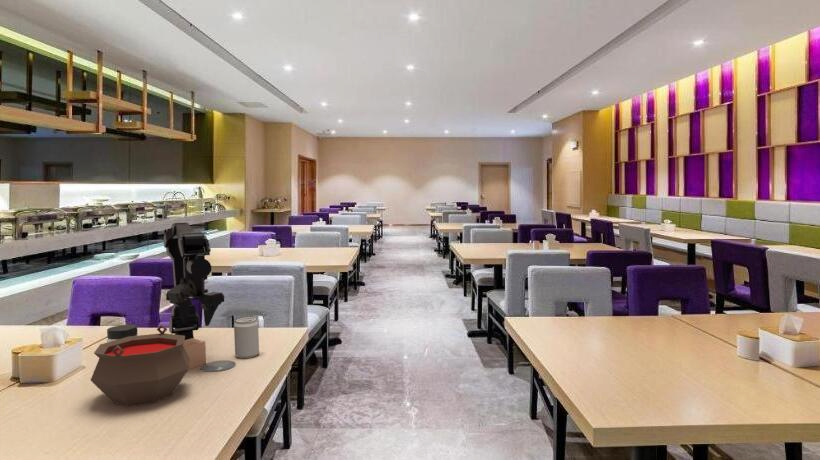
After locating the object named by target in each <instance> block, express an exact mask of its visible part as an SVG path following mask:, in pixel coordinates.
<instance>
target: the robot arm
mask: <svg viewBox="0 0 820 460" xmlns="http://www.w3.org/2000/svg"><path fill="white" fill-rule="evenodd" d="M163 247H164V249H166V251H165V252H166V254H167V256H168V257H169V258H170V260H172V261H171V262H172V271H173V272H172V273H173V285H174V287H172V288H171V289H169V290H168V291H167V293H166V294H165V298H166V301H169V303H170V304H172V305H173V307H172V308H171V315H170V316H169V323H168V331H169V334H174V335H182V336H185V339H184V340H187V339H192V338H194V332H195V331H198V330H199V329H200V327H199V325H200V315H199V314H198V312H197V310H196V308H197V307H196V306H195V304H193V303H192V301H191V300H194V301H199V302H200V303H201V304H200V305H199V306H200V308H201V309H202V310H203V318H204V326H205V327H209V326H210V324H211V322H212V319H213V317H214V315H215V313H216V310H218V307H219V306H220V305H221V304H222V303H223V302H225V295H224V294H223V292H218V291H211V292H209V291H208V289H206V288H205V286H206V285H205V281H207V280H208V276H209V275H210V274H211V271H212V265H211V262H210V261H209V260H207V259H205V258H206V257H205V256H210V255H211V252H212V251H211V245H210V242H209V239H208V238H207V235H205V234H204V232H202V231H195V230H194V229H193V228H192V227H191V226H190V223H188V222H174V223H172V224H171V227H170V228H169V229H167V230H166V231H165V232H164V235H163ZM194 339H195V338H194Z"/></svg>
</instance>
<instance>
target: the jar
mask: <svg viewBox="0 0 820 460" xmlns="http://www.w3.org/2000/svg"><path fill="white" fill-rule="evenodd" d="M106 333H107V334H106V335H107V336H106V337H107V339H106V343H107V342H111V341H115V340H118V339H122V338H125V337H129V336H139V334H138V325H136V324H121V325H115V326H111V327H108V328H107V330H106Z"/></svg>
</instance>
